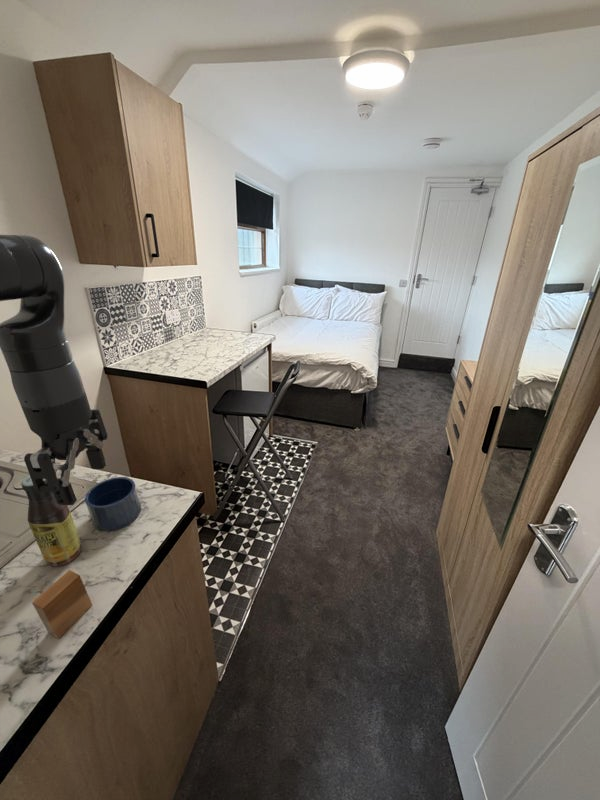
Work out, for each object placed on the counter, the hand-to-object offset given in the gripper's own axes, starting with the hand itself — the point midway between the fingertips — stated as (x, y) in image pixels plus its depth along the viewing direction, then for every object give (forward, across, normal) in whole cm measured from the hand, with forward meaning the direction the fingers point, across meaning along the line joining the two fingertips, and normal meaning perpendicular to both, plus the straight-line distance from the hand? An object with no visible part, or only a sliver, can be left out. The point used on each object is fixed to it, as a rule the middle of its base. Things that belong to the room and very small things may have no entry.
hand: (84, 484), depth 53 cm
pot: (+22, -16, -7) cm, 28 cm away
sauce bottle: (+23, -5, -13) cm, 26 cm away
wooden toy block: (+22, +8, -4) cm, 24 cm away
